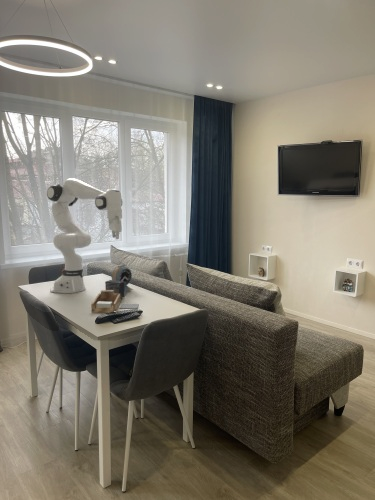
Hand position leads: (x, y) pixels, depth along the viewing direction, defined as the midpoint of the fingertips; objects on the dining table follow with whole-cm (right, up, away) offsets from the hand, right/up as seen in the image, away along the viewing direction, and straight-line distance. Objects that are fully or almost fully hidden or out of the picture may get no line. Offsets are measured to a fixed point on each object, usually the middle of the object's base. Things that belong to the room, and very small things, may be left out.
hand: (115, 238), depth 226 cm
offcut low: (-2, -42, -20) cm, 46 cm away
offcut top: (-2, -39, -20) cm, 44 cm away
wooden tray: (-3, -40, -13) cm, 42 cm away
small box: (-2, -37, +6) cm, 38 cm away
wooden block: (-3, -40, -11) cm, 41 cm away
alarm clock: (0, -35, +23) cm, 42 cm away
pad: (+10, -40, -12) cm, 43 cm away
